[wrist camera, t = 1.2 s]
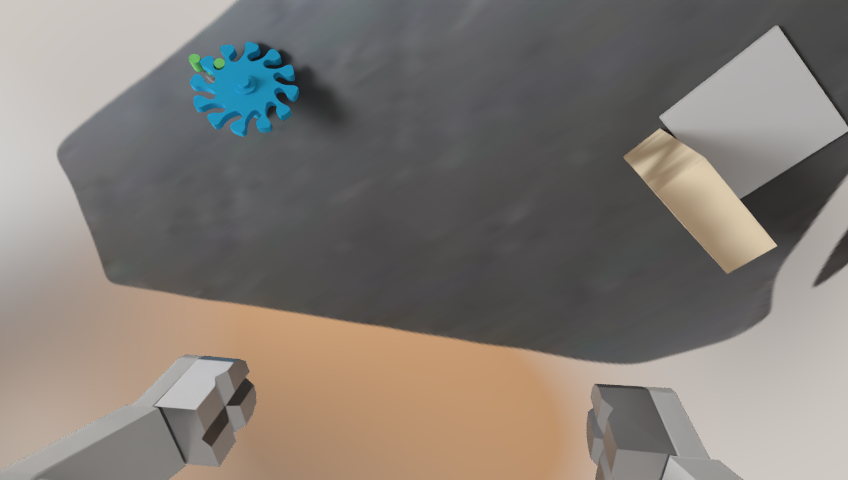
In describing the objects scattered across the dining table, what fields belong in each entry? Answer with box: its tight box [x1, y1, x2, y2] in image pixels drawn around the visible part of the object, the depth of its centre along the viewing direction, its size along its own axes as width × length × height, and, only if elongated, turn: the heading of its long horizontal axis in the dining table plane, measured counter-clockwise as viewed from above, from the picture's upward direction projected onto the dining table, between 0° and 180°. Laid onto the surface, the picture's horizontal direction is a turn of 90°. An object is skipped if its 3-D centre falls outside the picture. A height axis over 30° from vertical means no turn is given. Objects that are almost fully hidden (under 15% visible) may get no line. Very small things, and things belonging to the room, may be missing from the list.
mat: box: [659, 26, 848, 200], centre depth 38 cm, size 10×12×1 cm
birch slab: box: [623, 129, 777, 274], centre depth 37 cm, size 4×10×10 cm, turn 47°
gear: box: [189, 42, 299, 137], centre depth 42 cm, size 11×6×10 cm
